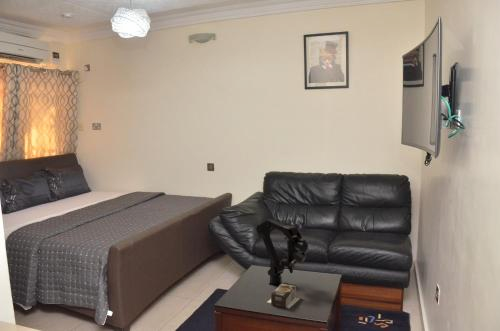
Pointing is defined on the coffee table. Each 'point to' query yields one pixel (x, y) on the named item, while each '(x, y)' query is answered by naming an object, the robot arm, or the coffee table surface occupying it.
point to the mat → (289, 303)
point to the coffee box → (283, 295)
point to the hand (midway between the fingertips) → (291, 272)
